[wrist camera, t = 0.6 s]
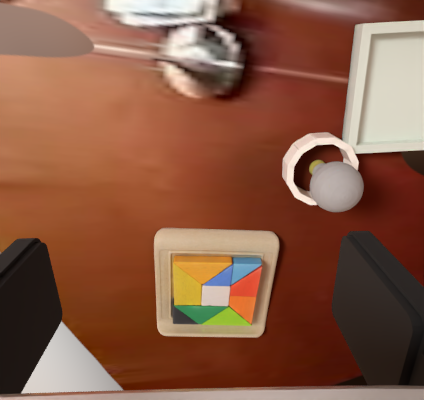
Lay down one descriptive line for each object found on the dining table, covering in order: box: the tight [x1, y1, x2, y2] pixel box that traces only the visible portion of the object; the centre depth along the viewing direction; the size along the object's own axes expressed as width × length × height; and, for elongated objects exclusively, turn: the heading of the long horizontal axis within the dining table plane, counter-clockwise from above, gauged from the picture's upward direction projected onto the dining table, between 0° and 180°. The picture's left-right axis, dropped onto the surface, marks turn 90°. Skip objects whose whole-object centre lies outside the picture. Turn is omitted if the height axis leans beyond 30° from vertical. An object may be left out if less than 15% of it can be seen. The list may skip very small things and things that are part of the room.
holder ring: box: [282, 132, 359, 205], centre depth 42 cm, size 9×9×3 cm
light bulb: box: [309, 160, 364, 212], centre depth 38 cm, size 6×5×10 cm
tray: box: [342, 20, 424, 154], centre depth 38 cm, size 14×14×2 cm
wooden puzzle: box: [154, 228, 279, 337], centre depth 49 cm, size 18×19×4 cm
